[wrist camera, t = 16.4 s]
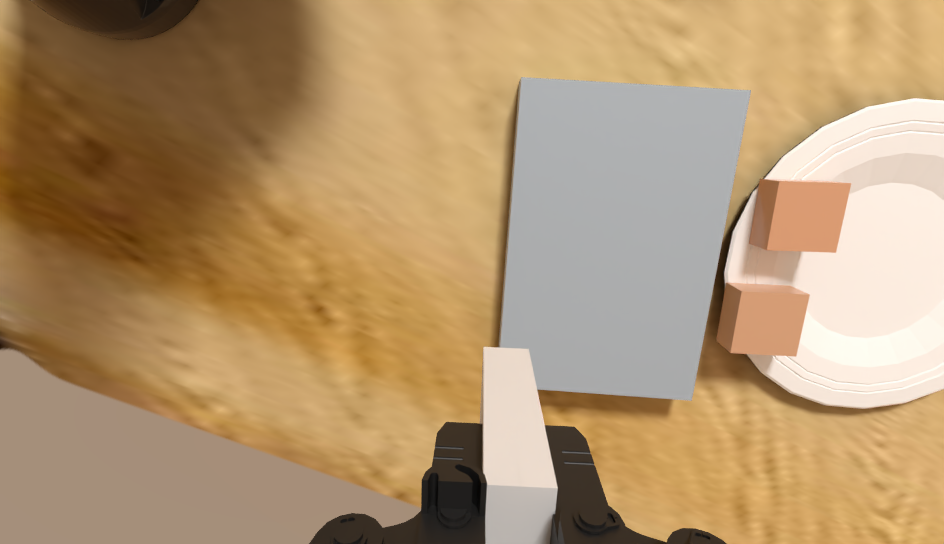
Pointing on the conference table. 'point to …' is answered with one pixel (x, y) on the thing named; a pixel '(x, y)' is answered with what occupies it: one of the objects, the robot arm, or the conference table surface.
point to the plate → (863, 261)
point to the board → (617, 231)
